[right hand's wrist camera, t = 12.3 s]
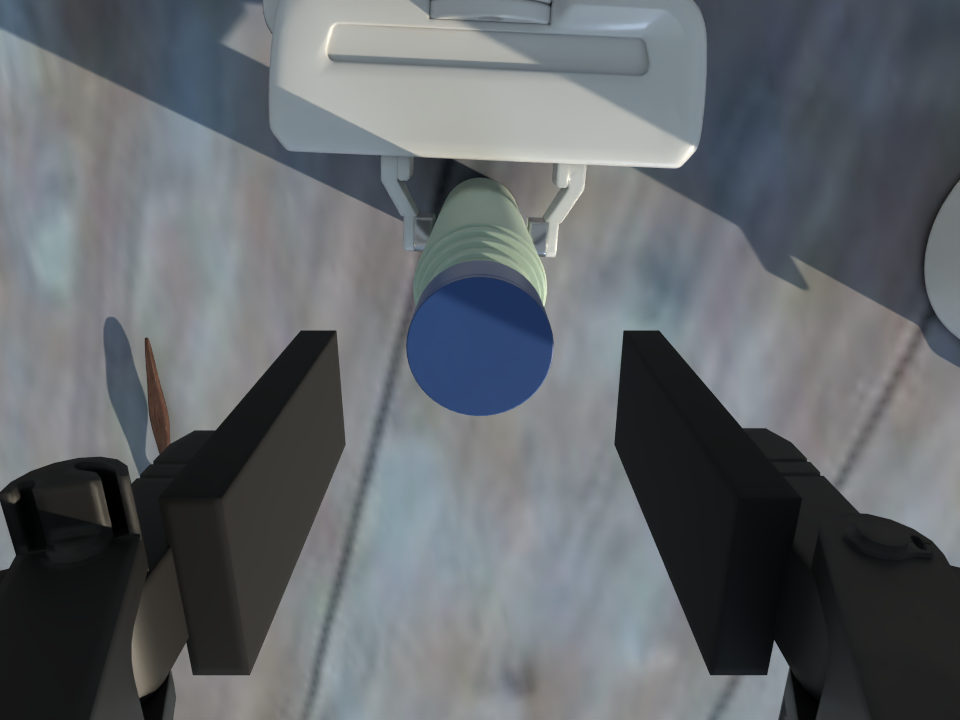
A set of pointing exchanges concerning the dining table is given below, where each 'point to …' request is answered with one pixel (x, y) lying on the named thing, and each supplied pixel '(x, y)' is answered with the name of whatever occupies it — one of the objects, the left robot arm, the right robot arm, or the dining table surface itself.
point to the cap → (480, 339)
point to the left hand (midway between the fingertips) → (479, 252)
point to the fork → (156, 402)
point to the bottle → (480, 235)
